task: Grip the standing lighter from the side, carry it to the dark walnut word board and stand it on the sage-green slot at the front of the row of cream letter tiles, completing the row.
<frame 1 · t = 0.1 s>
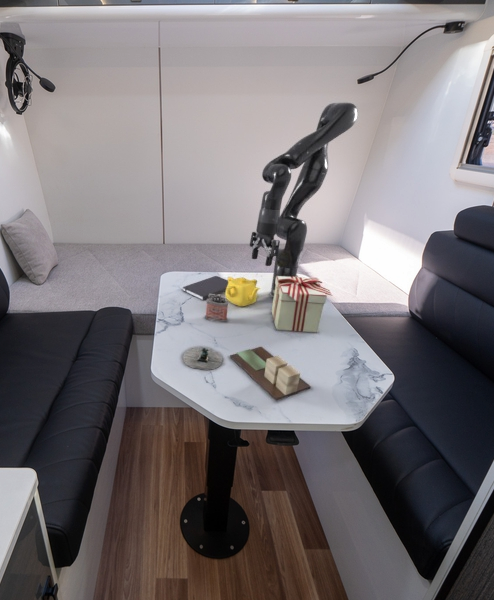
hand: (260, 262, 144), 17 cm above the table, tool pointing down, fingers open, 8 cm apart
gift box: (295, 324, 136), on the table
teapot: (241, 302, 151), on the table
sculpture: (202, 359, 115), on the table
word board: (267, 372, 109), on the table
lighter: (215, 319, 138), on the table
notebook: (209, 289, 163), on the table
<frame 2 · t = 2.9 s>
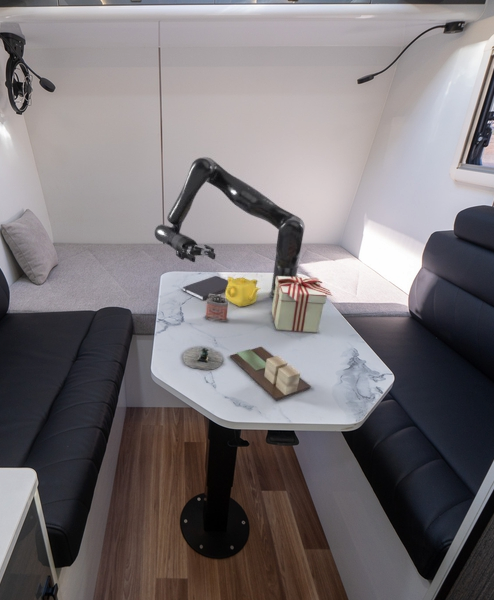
hand: (204, 258, 138), 20 cm above the table, tool horizontal, fingers open, 8 cm apart
nothing on the table moved.
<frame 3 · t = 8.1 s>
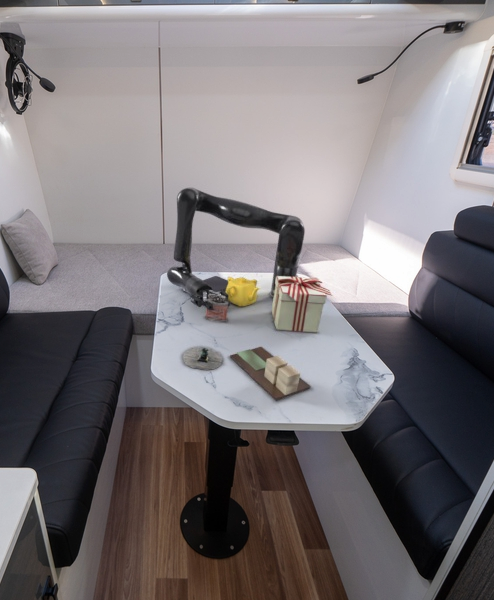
hand: (220, 306, 133), 7 cm above the table, tool horizontal, fingers closed on lighter, 6 cm apart
lighter: (216, 319, 138), on the table, touching gripper
everything else where it was.
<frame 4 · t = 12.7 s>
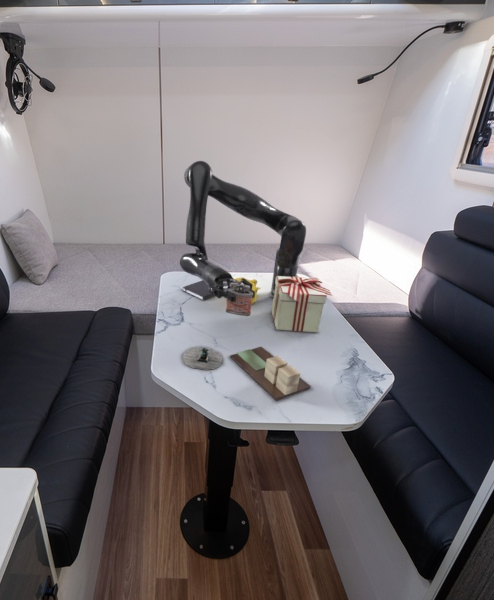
hand: (244, 297, 114), 18 cm above the table, tool horizontal, fingers closed on lighter, 6 cm apart
lighter: (237, 313, 119), point 11 cm above the table, touching gripper
everything else where it was.
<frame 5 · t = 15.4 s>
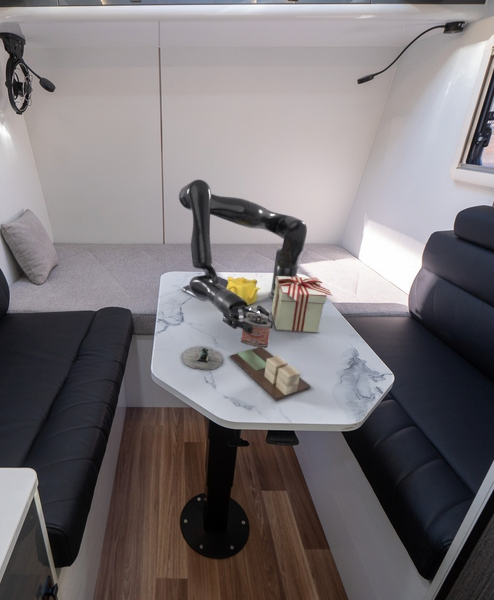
hand: (261, 328, 106), 13 cm above the table, tool horizontal, fingers closed on lighter, 6 cm apart
lighter: (254, 344, 111), point 6 cm above the table, touching gripper
everything else where it was.
when the fingers open (8 cm above the table, at t = 17.5 s): lighter stays where it is, resting on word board.
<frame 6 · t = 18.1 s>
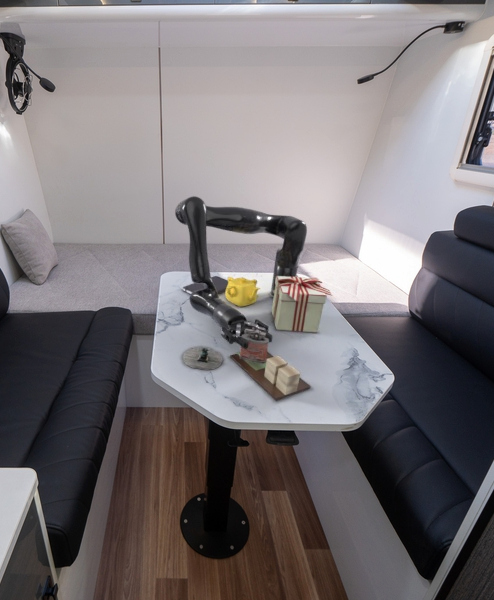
hand: (259, 342, 109), 8 cm above the table, tool horizontal, fingers open, 8 cm apart
lighter: (252, 359, 113), point 1 cm above the table, touching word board
everything else where it was.
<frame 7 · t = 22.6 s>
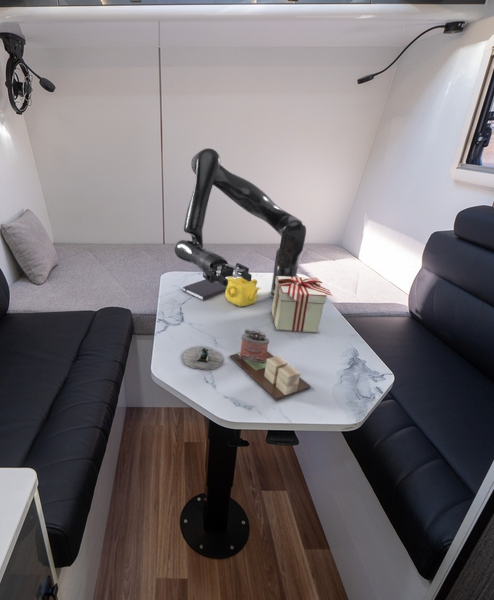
hand: (238, 280, 113), 23 cm above the table, tool horizontal, fingers open, 8 cm apart
nothing on the table moved.
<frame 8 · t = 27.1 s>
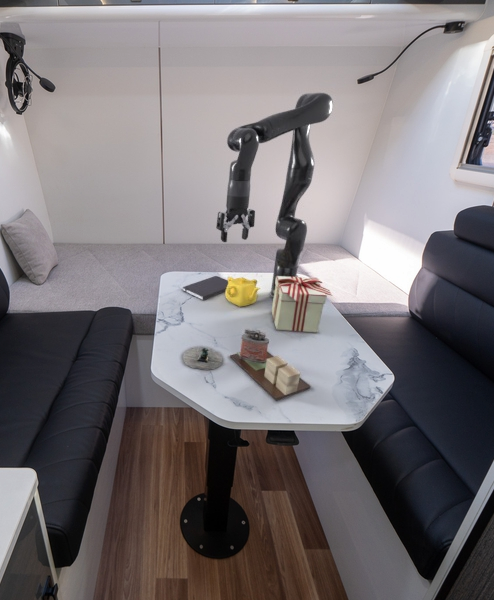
hand: (234, 240, 132), 28 cm above the table, tool pointing down, fingers open, 8 cm apart
nothing on the table moved.
at the end: lighter 0.1 cm from the target spot on the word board, point 0.8 cm above the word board's base; lighter tilted 0°; the gripper is holding nothing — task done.
